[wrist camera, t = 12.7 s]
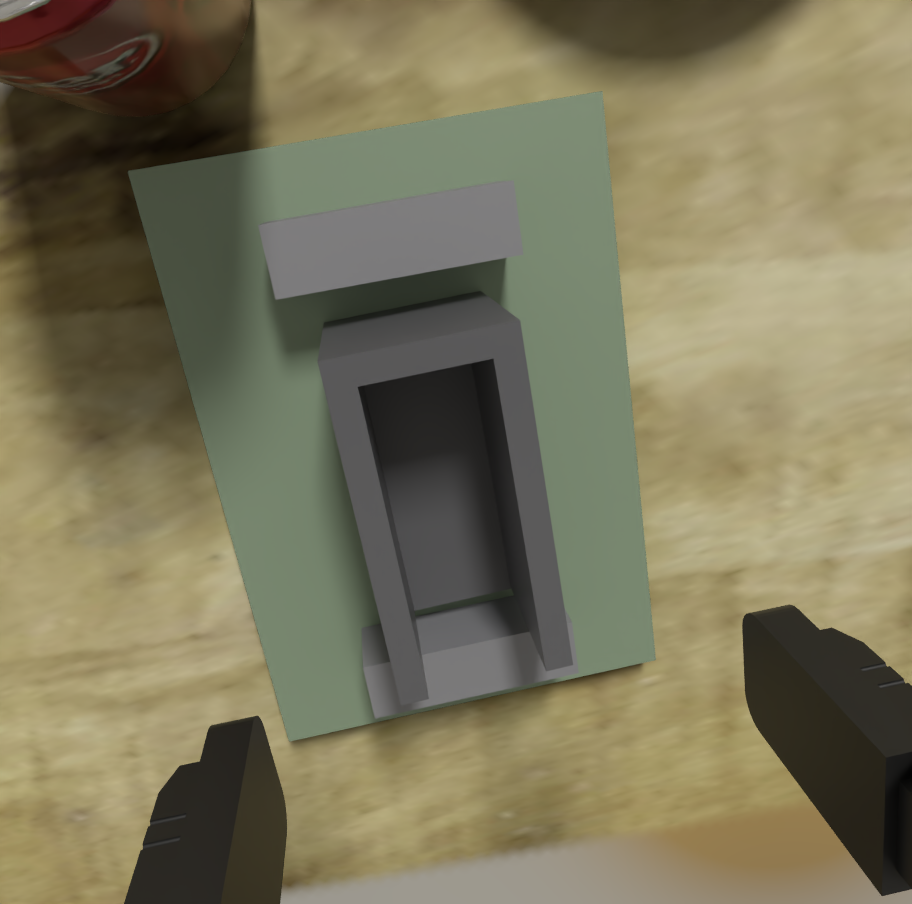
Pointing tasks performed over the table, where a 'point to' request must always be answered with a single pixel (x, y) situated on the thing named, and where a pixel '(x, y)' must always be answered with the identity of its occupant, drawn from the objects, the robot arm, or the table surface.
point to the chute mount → (386, 287)
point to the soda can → (120, 50)
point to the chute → (443, 468)
